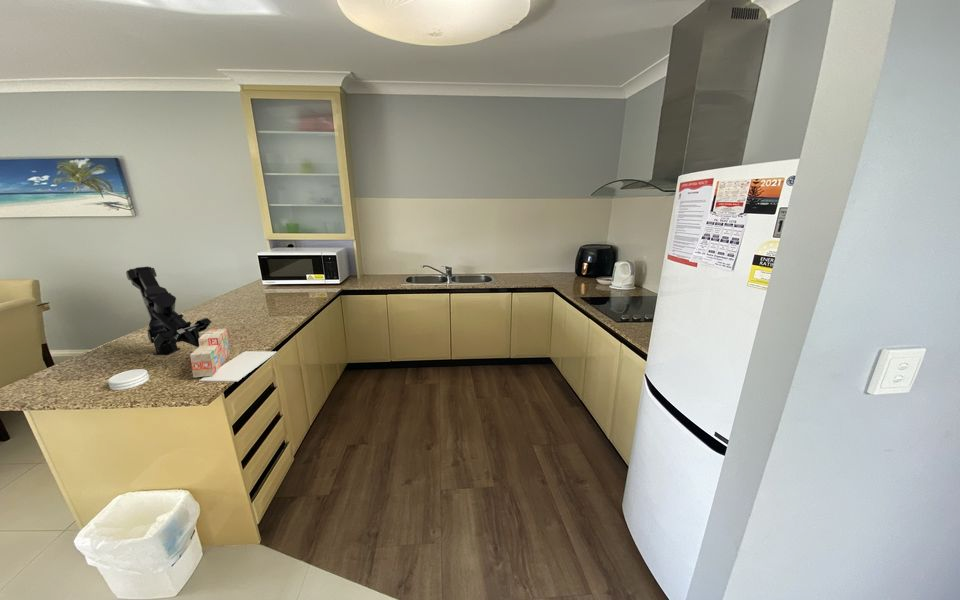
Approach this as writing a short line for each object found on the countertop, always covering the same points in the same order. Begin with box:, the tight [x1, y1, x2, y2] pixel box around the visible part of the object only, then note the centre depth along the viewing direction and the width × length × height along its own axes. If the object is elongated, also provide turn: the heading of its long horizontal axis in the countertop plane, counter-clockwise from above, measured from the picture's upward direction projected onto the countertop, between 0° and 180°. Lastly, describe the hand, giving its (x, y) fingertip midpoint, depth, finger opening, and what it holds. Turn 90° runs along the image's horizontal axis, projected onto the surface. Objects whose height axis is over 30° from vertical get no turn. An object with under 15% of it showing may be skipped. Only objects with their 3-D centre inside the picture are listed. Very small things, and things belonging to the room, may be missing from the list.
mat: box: [198, 350, 277, 383], centre depth 132 cm, size 14×25×1 cm, turn 1°
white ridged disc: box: [107, 368, 150, 391], centre depth 117 cm, size 10×10×4 cm
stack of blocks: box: [189, 328, 231, 378], centre depth 129 cm, size 21×6×12 cm, turn 23°
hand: (200, 346), depth 128 cm, fingers closed
